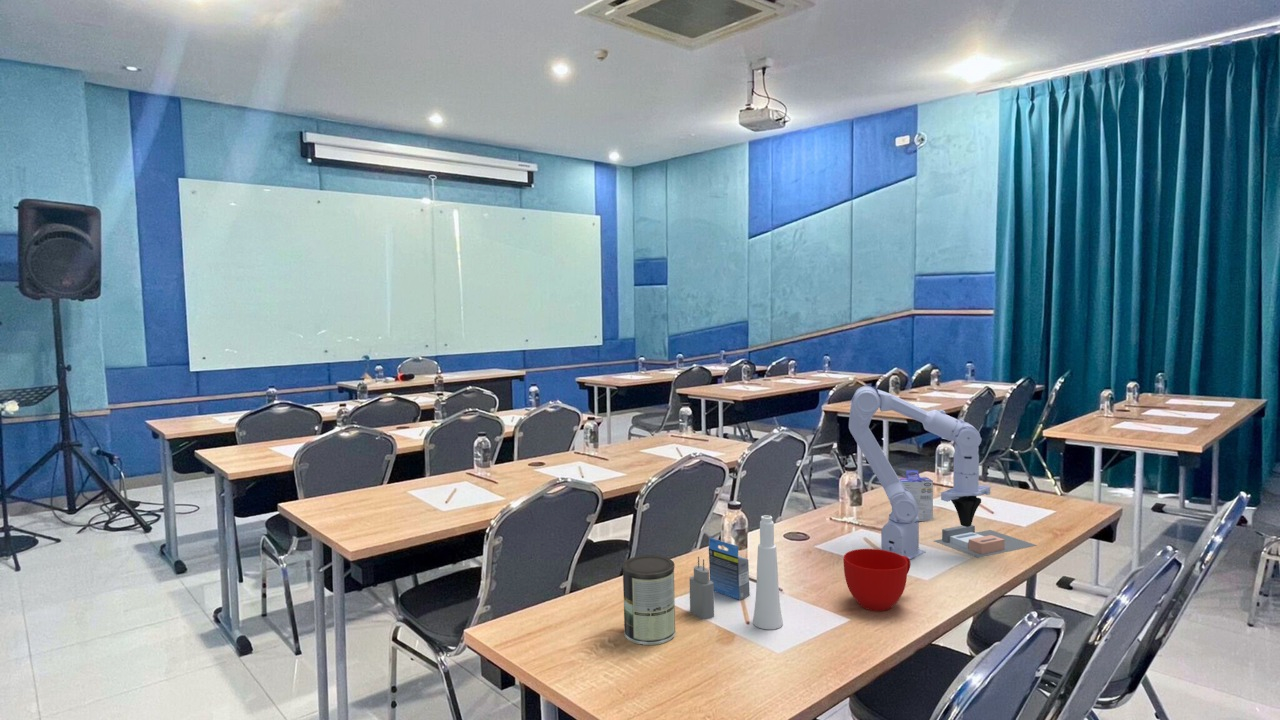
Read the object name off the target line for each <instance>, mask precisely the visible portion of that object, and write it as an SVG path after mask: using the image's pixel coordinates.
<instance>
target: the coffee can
mask: <svg viewBox="0 0 1280 720" xmlns="http://www.w3.org/2000/svg"><path fill="white" fill-rule="evenodd" d="M675 564H676V563H675V562H674V560H672V559H670V558H668V557H665V556H662V555H655V554H654V555H653V554H652V555H637V556H634V557H631V558H628V559H626V560H625V561H623V563H622V565H621V568H622V582H623V584H622V587H623V618H624V619H623V620H624V621H623V624H624V627H623V628H624V630H623V631H624V632H623V635H624V638H625V639H626V638H627V639H628V640H627V639H626V640H627V641H628V642H631V641H632V642H631V643H633V642H634V643H633V644H635V643H637V645H640V644H643V645H642V646H656V645H655V644H658V645H662V644H661V643H663V644H666V643H668V642H670V641H671V640H673V638H675V636H676V614H675V612H676V609H675V608H676V607H675V603H676V602H675V601H676V600H675V599H676V598H675V566H676V565H675Z"/></svg>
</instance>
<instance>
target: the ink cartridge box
mask: <svg viewBox="0 0 1280 720" xmlns="http://www.w3.org/2000/svg"><path fill="white" fill-rule="evenodd" d="M911 473H914V474H911ZM905 475H906V476H905V477H898V478H899V479H900V481H901V482H902V484H903V485H904V487H905V488H906V489H907V490H909V491H910V492H911V493H912V494H913V495H914V497H915V500H916V504H917V505H918V509H919V512H918V515H917V516H918V517H919V522H931V521H932V522H933V521H934V481H933V480H932V479H931V478H929V477H926V476H923V477H922V476H920V473H919V470H917V469H914V470H912V469H910V470H909V469H907V470H905Z"/></svg>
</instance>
